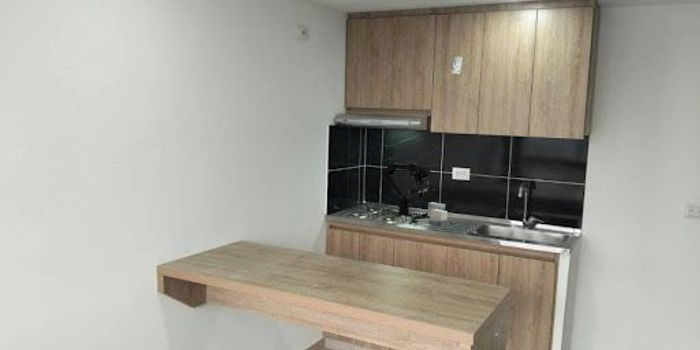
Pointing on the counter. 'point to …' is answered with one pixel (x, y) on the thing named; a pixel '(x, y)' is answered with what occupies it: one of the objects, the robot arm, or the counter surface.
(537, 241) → the counter surface
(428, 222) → the socket board
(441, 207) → the light bulb box
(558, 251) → the counter surface
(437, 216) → the white rectangular block
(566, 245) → the counter surface
